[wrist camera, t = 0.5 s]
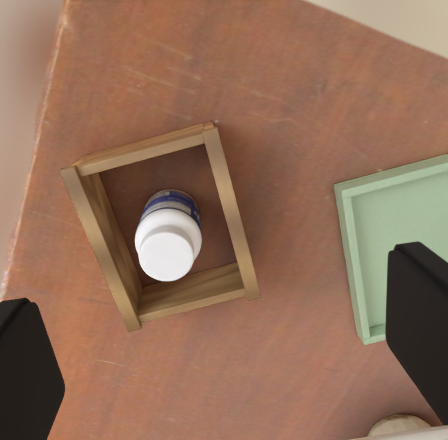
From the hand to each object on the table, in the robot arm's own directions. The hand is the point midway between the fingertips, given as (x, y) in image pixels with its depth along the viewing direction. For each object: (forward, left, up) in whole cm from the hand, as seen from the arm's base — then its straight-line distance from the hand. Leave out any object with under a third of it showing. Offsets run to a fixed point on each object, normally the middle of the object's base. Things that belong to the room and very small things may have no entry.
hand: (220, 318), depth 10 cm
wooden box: (+6, -4, -26) cm, 27 cm away
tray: (+16, +18, -26) cm, 35 cm away
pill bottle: (+6, -4, -26) cm, 27 cm away
